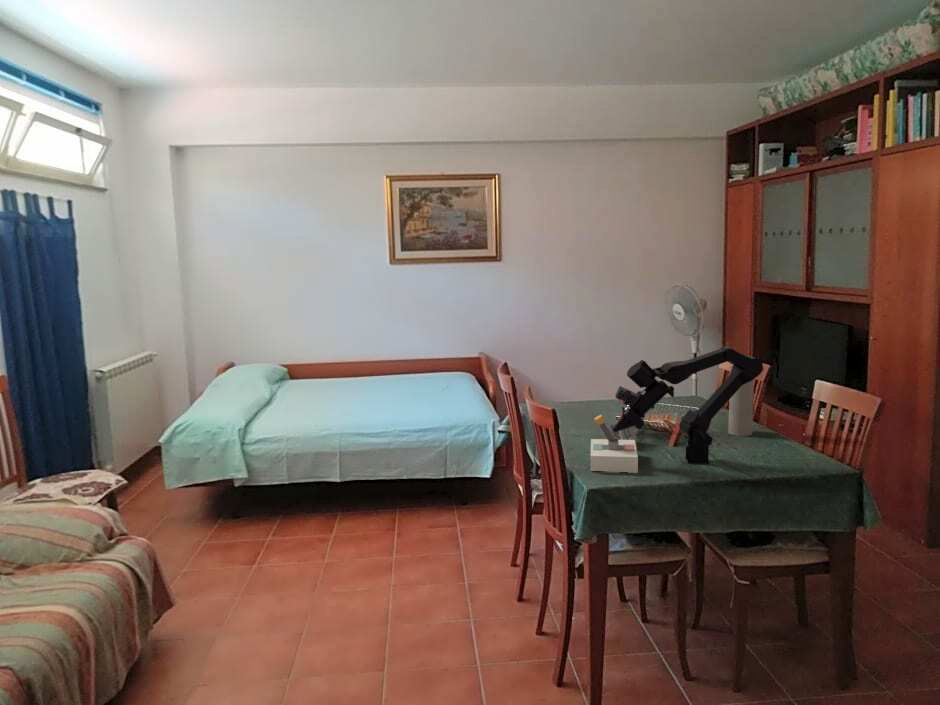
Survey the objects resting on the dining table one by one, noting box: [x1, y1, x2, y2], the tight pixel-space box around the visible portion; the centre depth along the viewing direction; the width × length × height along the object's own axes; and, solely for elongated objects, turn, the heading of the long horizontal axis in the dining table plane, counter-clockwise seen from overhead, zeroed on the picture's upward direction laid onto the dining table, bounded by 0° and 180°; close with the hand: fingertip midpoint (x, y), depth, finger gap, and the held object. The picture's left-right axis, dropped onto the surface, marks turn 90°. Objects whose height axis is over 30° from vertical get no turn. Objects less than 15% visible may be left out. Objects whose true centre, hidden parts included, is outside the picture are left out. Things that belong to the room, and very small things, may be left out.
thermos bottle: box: [727, 354, 755, 437], centre depth 251 cm, size 8×8×28 cm
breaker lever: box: [594, 414, 617, 442], centre depth 224 cm, size 2×3×10 cm
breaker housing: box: [590, 438, 639, 474], centre depth 225 cm, size 14×18×8 cm
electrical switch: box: [610, 420, 638, 444], centre depth 244 cm, size 9×5×9 cm, turn 141°
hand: (613, 430), depth 224 cm, fingers closed
